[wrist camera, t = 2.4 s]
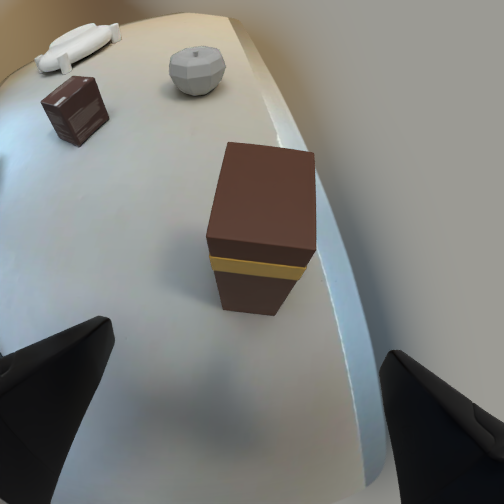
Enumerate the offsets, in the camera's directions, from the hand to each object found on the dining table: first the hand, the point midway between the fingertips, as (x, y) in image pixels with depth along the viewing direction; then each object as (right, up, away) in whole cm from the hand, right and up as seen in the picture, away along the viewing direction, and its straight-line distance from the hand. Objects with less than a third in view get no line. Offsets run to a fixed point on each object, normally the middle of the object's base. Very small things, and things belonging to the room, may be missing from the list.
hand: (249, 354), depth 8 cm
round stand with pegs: (-43, +52, +35) cm, 76 cm away
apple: (-7, +26, +25) cm, 37 cm away
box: (-23, +20, +22) cm, 37 cm away
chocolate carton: (0, +1, +14) cm, 14 cm away
